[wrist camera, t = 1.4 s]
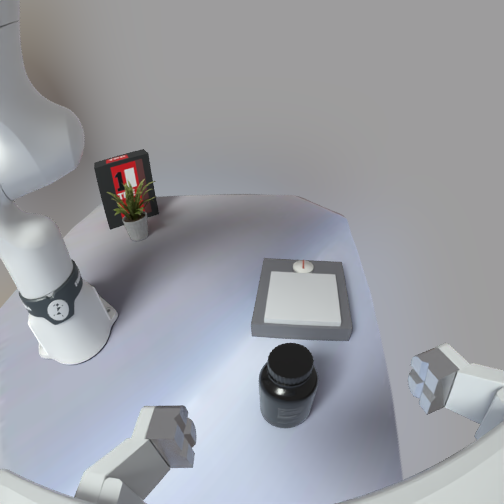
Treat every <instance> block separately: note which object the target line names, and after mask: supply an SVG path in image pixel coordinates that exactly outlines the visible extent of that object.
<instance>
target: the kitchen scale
mask: <svg viewBox="0 0 504 504" xmlns="http://www.w3.org/2000/svg"><path fill="white" fill-rule="evenodd" d="M251 331H252V336H257V337H270V338H285V339H304V340H332V341H349V338H350V335H351V332H352V322H351V315H350V308H349V302H348V295H347V289H346V283H345V278H344V272H343V267H342V262H329V261H309V260H289V259H269V258H264V261H263V266H262V271H261V276H260V281H259V287H258V292H257V297H256V302H255V307H254V312H253V317H252V322H251Z"/></svg>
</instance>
